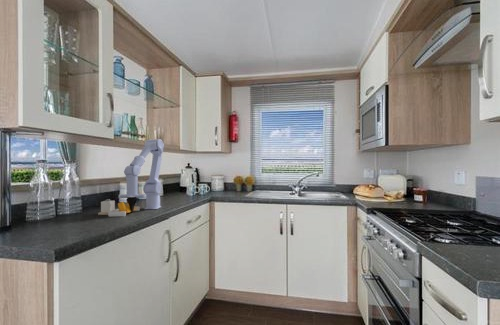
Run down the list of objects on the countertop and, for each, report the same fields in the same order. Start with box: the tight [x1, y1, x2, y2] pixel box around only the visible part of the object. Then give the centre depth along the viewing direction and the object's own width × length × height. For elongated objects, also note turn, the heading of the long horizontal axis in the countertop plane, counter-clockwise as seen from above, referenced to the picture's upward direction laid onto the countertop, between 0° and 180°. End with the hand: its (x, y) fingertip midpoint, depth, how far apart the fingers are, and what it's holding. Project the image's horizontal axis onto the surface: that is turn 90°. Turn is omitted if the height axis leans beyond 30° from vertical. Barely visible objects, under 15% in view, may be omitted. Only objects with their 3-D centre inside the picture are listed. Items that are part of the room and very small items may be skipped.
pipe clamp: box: [117, 201, 136, 214], centre depth 140 cm, size 12×4×6 cm, turn 1°
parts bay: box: [108, 205, 141, 218], centre depth 141 cm, size 18×9×2 cm, turn 0°
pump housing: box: [97, 198, 116, 216], centre depth 141 cm, size 7×7×8 cm
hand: (132, 210), depth 141 cm, fingers closed
